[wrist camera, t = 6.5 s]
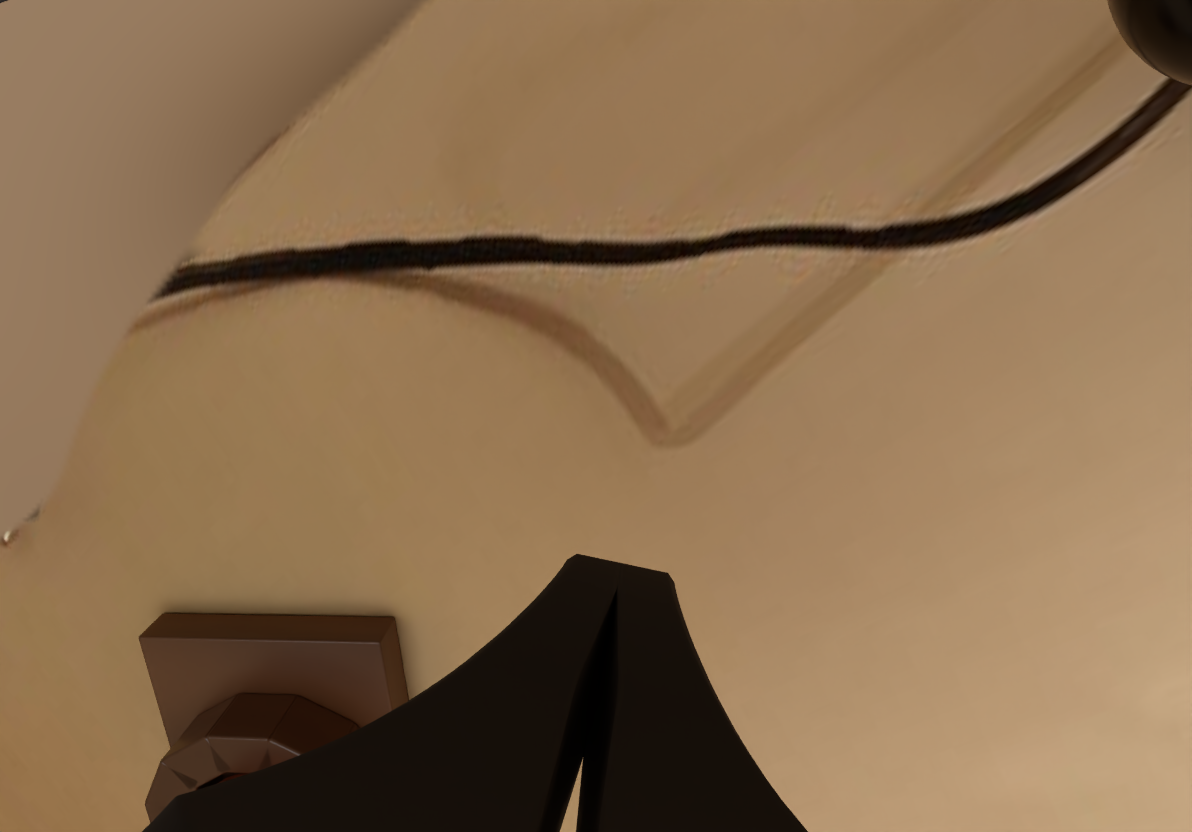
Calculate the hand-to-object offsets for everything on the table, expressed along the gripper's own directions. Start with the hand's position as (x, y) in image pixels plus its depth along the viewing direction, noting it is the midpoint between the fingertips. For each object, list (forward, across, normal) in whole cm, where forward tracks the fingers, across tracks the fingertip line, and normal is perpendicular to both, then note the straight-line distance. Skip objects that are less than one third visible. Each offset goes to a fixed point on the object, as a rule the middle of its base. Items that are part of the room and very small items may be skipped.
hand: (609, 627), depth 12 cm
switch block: (+10, +8, +14) cm, 19 cm away
